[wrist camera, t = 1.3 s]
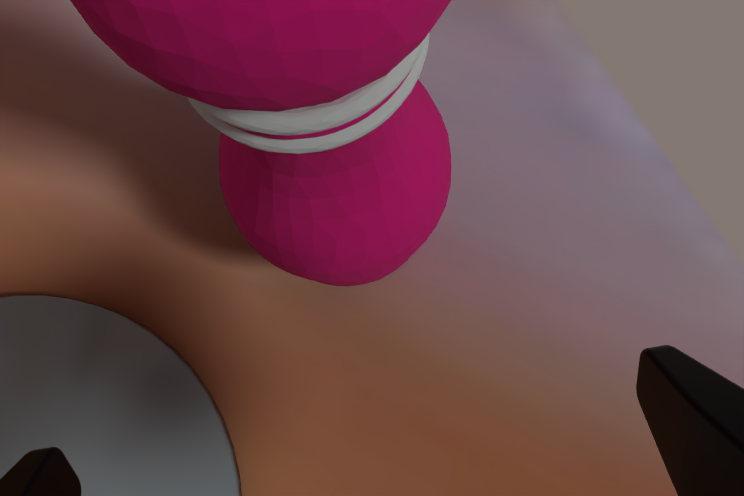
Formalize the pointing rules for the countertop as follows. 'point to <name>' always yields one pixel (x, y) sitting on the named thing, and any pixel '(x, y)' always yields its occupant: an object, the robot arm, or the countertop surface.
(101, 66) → the countertop surface
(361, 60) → the pepper mill
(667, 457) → the robot arm
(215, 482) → the disc
